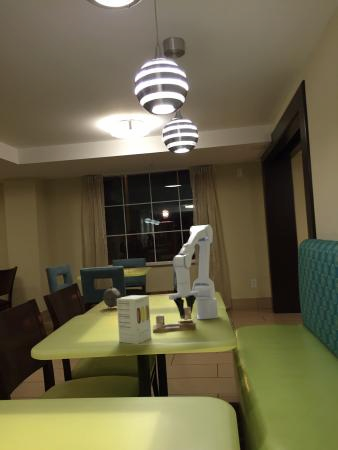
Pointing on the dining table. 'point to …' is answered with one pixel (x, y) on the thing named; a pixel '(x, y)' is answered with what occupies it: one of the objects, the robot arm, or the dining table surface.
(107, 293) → the alarm clock
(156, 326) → the rail base
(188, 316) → the block
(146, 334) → the supplement box
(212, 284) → the robot arm
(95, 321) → the dining table surface
